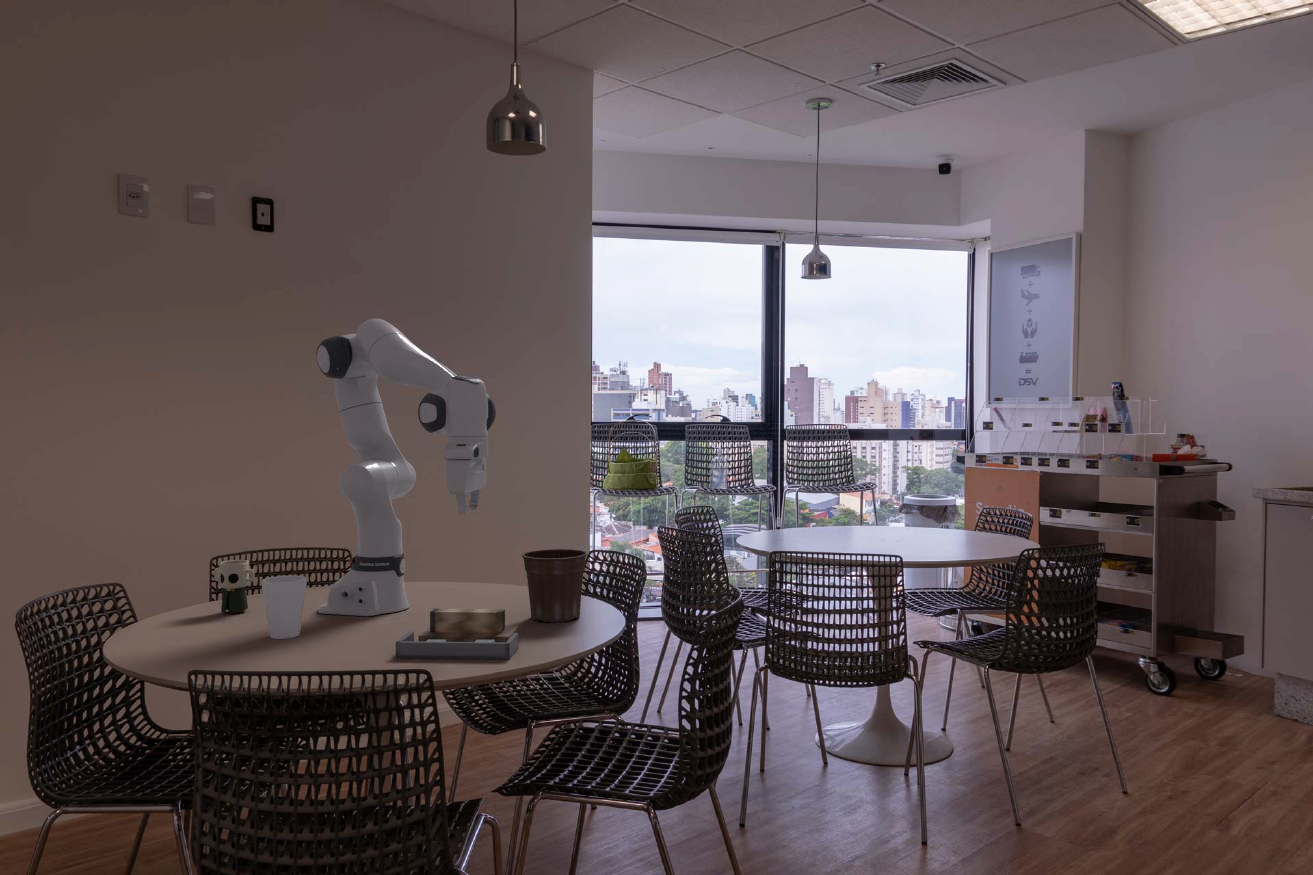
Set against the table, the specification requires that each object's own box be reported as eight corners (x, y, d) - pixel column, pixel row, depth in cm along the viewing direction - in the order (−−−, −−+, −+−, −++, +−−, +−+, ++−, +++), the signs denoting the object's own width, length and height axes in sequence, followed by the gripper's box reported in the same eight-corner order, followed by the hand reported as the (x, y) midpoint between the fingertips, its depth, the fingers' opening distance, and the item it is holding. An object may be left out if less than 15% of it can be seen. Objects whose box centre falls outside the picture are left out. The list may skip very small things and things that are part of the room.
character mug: (206, 614, 234) (205, 563, 233) (223, 608, 241) (222, 559, 240) (246, 616, 232) (245, 564, 232) (262, 610, 239) (261, 560, 239)
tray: (395, 657, 192) (395, 642, 192) (409, 646, 201) (409, 631, 201) (509, 659, 191) (509, 643, 191) (518, 648, 200) (518, 633, 200)
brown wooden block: (430, 632, 204) (429, 611, 204) (434, 628, 208) (434, 608, 208) (501, 632, 204) (501, 612, 203) (505, 629, 207) (504, 609, 207)
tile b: (472, 651, 195) (472, 644, 195) (477, 646, 199) (476, 639, 199) (490, 651, 195) (490, 644, 195) (495, 646, 199) (495, 639, 199)
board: (418, 647, 201) (418, 635, 201) (432, 635, 211) (432, 624, 211) (509, 648, 200) (509, 636, 200) (518, 636, 210) (518, 625, 210)
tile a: (422, 650, 196) (422, 643, 196) (428, 646, 200) (428, 639, 200) (441, 651, 195) (441, 644, 195) (446, 646, 199) (446, 639, 199)
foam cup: (264, 642, 206) (263, 584, 205) (261, 633, 214) (260, 577, 214) (309, 637, 210) (308, 580, 210) (304, 628, 218) (303, 574, 218)
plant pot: (515, 613, 234) (514, 550, 234) (575, 608, 240) (575, 546, 240) (532, 627, 219) (532, 560, 219) (596, 621, 226) (596, 555, 225)
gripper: (466, 447, 215) (466, 506, 215) (441, 451, 195) (441, 516, 195) (493, 447, 215) (493, 506, 215) (470, 451, 194) (471, 516, 195)
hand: (468, 511), depth 205 cm, fingers open, 8 cm apart
